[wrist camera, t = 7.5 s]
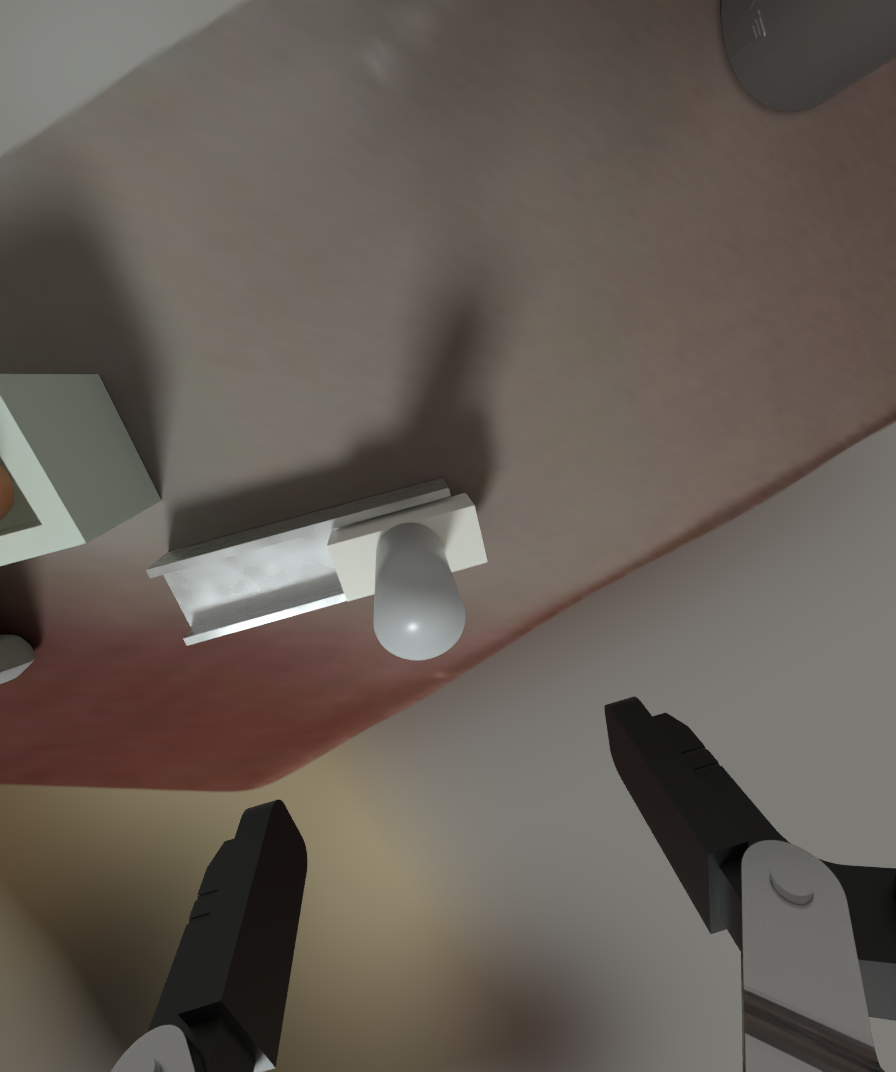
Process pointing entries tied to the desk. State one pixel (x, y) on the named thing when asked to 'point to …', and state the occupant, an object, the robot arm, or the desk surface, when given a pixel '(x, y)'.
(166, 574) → the rail
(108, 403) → the button housing
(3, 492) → the button
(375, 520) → the carriage
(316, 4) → the desk surface
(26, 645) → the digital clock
